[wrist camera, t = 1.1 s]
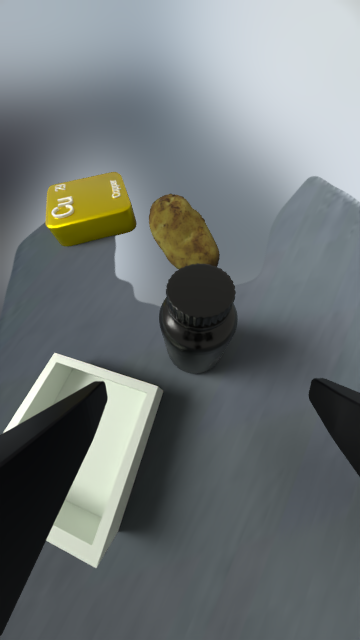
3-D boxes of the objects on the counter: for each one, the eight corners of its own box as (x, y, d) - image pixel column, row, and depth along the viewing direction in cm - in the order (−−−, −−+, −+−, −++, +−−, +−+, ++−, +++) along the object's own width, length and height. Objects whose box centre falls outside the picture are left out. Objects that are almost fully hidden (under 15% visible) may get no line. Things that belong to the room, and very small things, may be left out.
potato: (171, 292, 27) (165, 249, 20) (150, 239, 33) (139, 191, 25) (221, 277, 28) (233, 230, 21) (192, 228, 34) (193, 178, 26)
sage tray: (117, 531, 15) (96, 568, 12) (9, 477, 17) (-37, 494, 14) (163, 390, 20) (158, 386, 17) (75, 362, 22) (54, 352, 19)
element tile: (139, 230, 35) (132, 205, 30) (60, 250, 33) (41, 226, 29) (125, 192, 41) (118, 167, 37) (60, 207, 40) (44, 182, 36)
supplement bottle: (224, 374, 21) (261, 335, 10) (166, 374, 21) (144, 336, 11) (219, 322, 24) (243, 251, 13) (169, 323, 24) (153, 254, 14)
